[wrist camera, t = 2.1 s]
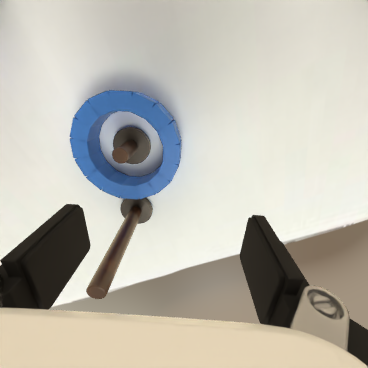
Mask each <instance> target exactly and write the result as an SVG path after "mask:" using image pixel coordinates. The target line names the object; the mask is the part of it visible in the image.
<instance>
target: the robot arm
mask: <svg viewBox="0 0 368 368" xmlns="http://www.w3.org/2000/svg"><path fill="white" fill-rule="evenodd" d="M89 249H90V241H89V236H88V231H87V226H86V222H85V217H84V212H83V209H82V208H81V207H80V206H79V205H75V204H66V205H65V206H64V207H63V208H61V209H60V210H59V211H58V212H57V213H56V214H54V215H53V216H52V217H51V218H50V219H48V220H47V221H46V222H45V223H44V224H43V225H41V226H40V227H39V228H38V229H37V230H36V231H34V232H33V233H32V234H31V235H30V236H28V237H27V238H26V239H25V240H24V241H23V242H21V243H20V244H19V245H18V246H17V247H15V248H14V249H13V250H12V251H11V252H10V253H8V254H7V255H6V256H5V257H4V258H3V259H1V260H0V261H1V263H2V265H1V266H0V368H368V330H367V329H365V328H364V327H362V326H361V325H359V324H358V323H356V322H354V321H353V320H351V319H350V317H349V312H348V310H347V308H346V306H345V305H344V303H342V301H341V300H340V299H339V298H338V297H337V296H336V295H335V294H333V293H332V292H330V291H328V290H327V289H324V288H322V287H319V286H315V285H314V286H310V285H309V284H308V282H307V281H306V279H305V277H304V276H303V274H302V273H301V271H300V270H299V268H298V266H297V265H296V263H295V262H294V260H293V259H292V257H291V255H290V254H289V252H288V251H287V249H286V248H285V246H284V244H283V243H282V242H281V241H280V240H279V239H278V237H277V236H276V234H275V232H274V231H273V229H272V228H271V226H270V224H269V223H268V221H267V220H266V218H265V217H264V216H259V215H253V216H252V218H249V219H248V223H247V227H246V231H245V235H244V239H243V244H242V248H241V252H240V260H241V263H242V267H243V270H244V273H245V276H246V280H247V283H248V286H249V289H250V292H251V296H252V299H253V302H254V305H255V309H256V312H257V315H258V319H259V321H260V323H261V324H252V323H240V322H230V321H216V320H202V319H188V318H174V317H160V316H144V315H143V316H142V315H129V314H114V313H98V312H81V311H64V310H48V309H49V308H51V306H52V305H53V303H54V302H55V300H56V299H57V297H58V296H59V294H60V293H61V292H62V290H63V289H64V287H65V286H66V284H67V283H68V281H69V280H70V278H71V277H72V275H73V274H74V272H75V271H76V269H77V268H78V266H79V265H80V263H81V262H82V260H83V259H84V257H85V256H86V254H87V253H88V251H89ZM263 324H264V325H263Z"/></svg>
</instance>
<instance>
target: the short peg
mask: <svg viewBox="0 0 368 368" xmlns="http://www.w3.org/2000/svg"><path fill="white" fill-rule="evenodd" d="M113 147H114V150H113V153H112V156H113V159H114V160H115V161H116V162H118V163H125V162H126V163H130V164H138V163H141V162H143V161H144V160H145V159H146V158H147V157H148V155H149V153H150V149H151V145H150V141H149V138H148V137H147V135H146V134H145V133H144V132H143V131H142V130H140V129H138V128H135V127H127V128H124V129H122V130H120V131H119V132H118V133H117V134H116V135H115V137H114V141H113Z"/></svg>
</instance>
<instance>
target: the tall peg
mask: <svg viewBox="0 0 368 368" xmlns="http://www.w3.org/2000/svg"><path fill="white" fill-rule="evenodd" d="M152 210H153V209H152V205H151V203H150V202H149V201H148V200H147V199H146V198H142V199H140V198H139V199H125V200H124V201H123V203H122V205H121V213H122V215H123V216H124V218H125V220H124V222H123V223H122V225H121V227H120V229H119V231H118V233H117V234H116V236H115V238H114V240H113V242H112V244H111V245H110V247H109V249H108V251H107V253H106V254H105V256H104V258H103V260H102V262H101V264H100V265H99V267H98V269H97V271H96V273H95V275H94V276H93V278H92V280H91V282H90V284H89V285H88V287H87V290H86V292H87V294H88V295H89V296H90V297H92V298H95V299H102V298H104V297H105V296H106V294H107V292H108V290H109V287H110V285H111V283H112V281H113V278H114V276H115V274H116V271H117V269H118V267H119V264H120V262H121V260H122V257H123V255H124V253H125V250H126V248H127V246H128V244H129V241H130V239H131V237H132V234H133V232H134V230H135V227H136V225H137V224H139V223H144V222H146V221H148V220H149V218H150V217H151V214H152Z"/></svg>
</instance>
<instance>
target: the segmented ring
mask: <svg viewBox="0 0 368 368" xmlns="http://www.w3.org/2000/svg"><path fill="white" fill-rule="evenodd" d="M158 103H159V102H158V101H156V100H154V99H152V98H150V97H148V96H146V95H144V94H142V93H139V92H133V91H115V90H109V91H105V92H102V93H100V94H98V95H96V96H93V97H91V98H89V99H88V100H86V101H85V103H84V104H83V105H82V107H81V108H80V109H79V110H78V112H77V113H76V114H75V117H74V118H73V123H72V128H71V133H70V137H71V138H70V143H71V148H72V152H73V157H74V158H77V159H75V161H76V163H77V164H78V166H79V168H80V169H81V171H82V172H83V174H84V176H87V177H86V178H87V179H88V180H89V181H90V182H92V183H93V184H94V185H95V186H96V187H98V188H99V189H100V190H102V189H103V190H102V191H104V192H106V193H109V194H111V195H113V196H116V197H118V198H120V196H121V198H125V199H139V198H140V199H142V198H145V197H148V196H152V195H155V194H156V193H159V192H160V191H161V190H162V189H163V188H164V187H166V186H167V185H168V184H169V183H170V181H172V179H173V177H174V175H175V173H176V171H177V169H178V167H179V163H180V158H181V136H180V133H179V130H178V128H177V125H176V122H175V120H173V117H172V116H171V114H170V113H169V112H168V111H167V110H166V109H165V108H164V106H163V105H162V104H161V103H159V104H158ZM118 111H128V112H132V113H134V114H136V115H138V116H140V117H142V118H144V119H146V120H147V121H148V122H149V123H150V124H151V125H152V126H153V128H154V129H155V130H156V131H157V132H158V135H159V137H160V140H161V142H162V145H163V162H162V164H161V166H160V167H158V168H157V169H156V170H155V171H154V172H153V173H151V174H148V175H145V176H142V177H139V176H128V175H126V174H123V173H121V172H119V171H117V170H116V169H115V168H113V167H112V166H111V165H110V164H109V163H108V162H107V161H106V159H105V157H104V155H103V153H102V152H101V148H100V141H99V134H100V130H101V127H102V124H103V123H104V121H105V120H106V119H107V118H108V117H109V116H110V114H113V113H115V112H118Z"/></svg>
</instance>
